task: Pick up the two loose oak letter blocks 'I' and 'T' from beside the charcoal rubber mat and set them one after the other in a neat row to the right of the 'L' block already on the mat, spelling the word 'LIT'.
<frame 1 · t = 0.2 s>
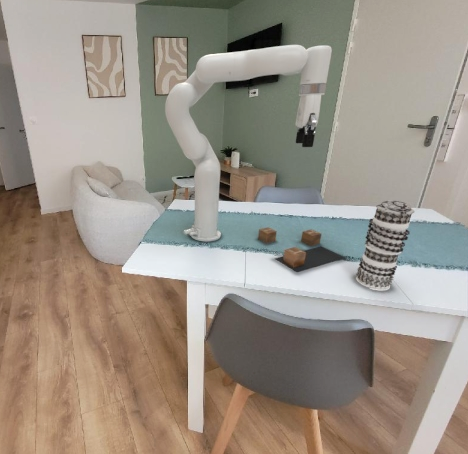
hand: (303, 144, 101), 37 cm above the table, tool pointing down, fingers open, 9 cm apart
decorative candle: (371, 282, 87), on the table
word mat: (309, 259, 101), on the table
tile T: (309, 243, 112), on the table
tile I: (266, 240, 116), on the table
tile L: (293, 263, 98), resting on word mat
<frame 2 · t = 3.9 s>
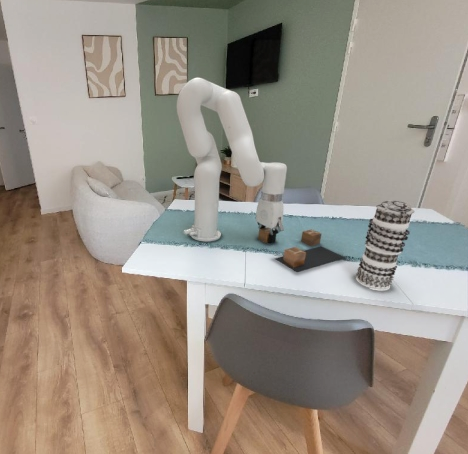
hand: (266, 239, 115), 0 cm above the table, tool pointing down, fingers closed on tile I, 4 cm apart
tile I: (266, 240, 116), on the table, touching gripper
everything else where it was.
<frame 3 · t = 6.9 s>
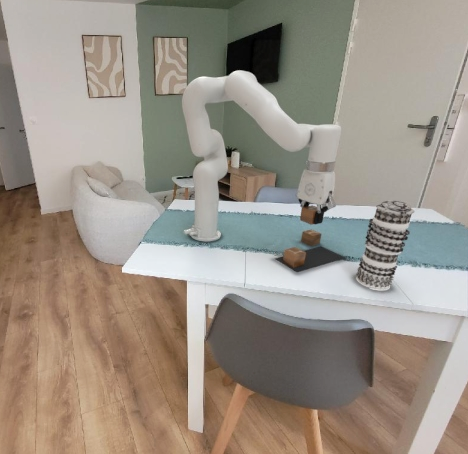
hand: (310, 220, 97), 14 cm above the table, tool pointing down, fingers closed on tile I, 4 cm apart
tile I: (310, 221, 97), point 14 cm above the table, touching gripper
everything else where it was.
when the fingers open (1 cm above the table, at t = 10.3 s): tile I stays where it is, resting on word mat.
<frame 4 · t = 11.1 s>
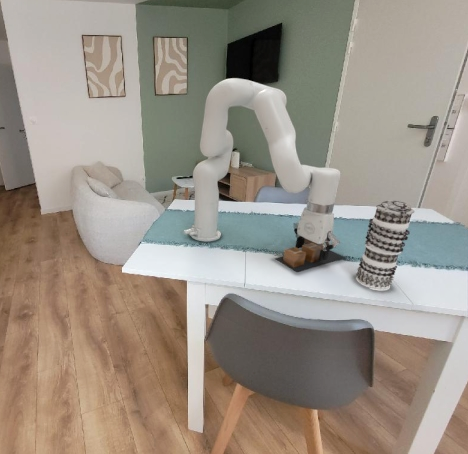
hand: (310, 253, 100), 2 cm above the table, tool pointing down, fingers open, 9 cm apart
tile I: (310, 258, 101), resting on word mat
everything else where it was.
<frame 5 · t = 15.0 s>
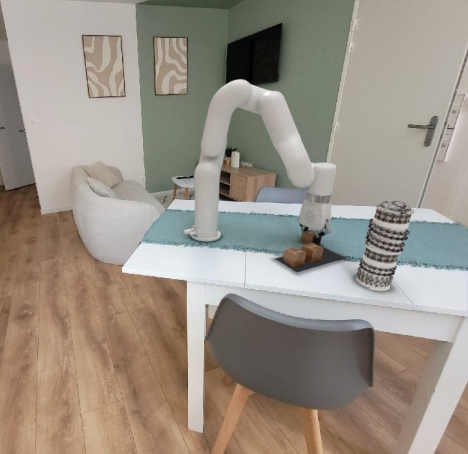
hand: (310, 242, 112), 0 cm above the table, tool pointing down, fingers closed on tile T, 4 cm apart
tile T: (309, 243, 112), on the table, touching gripper
everything else where it was.
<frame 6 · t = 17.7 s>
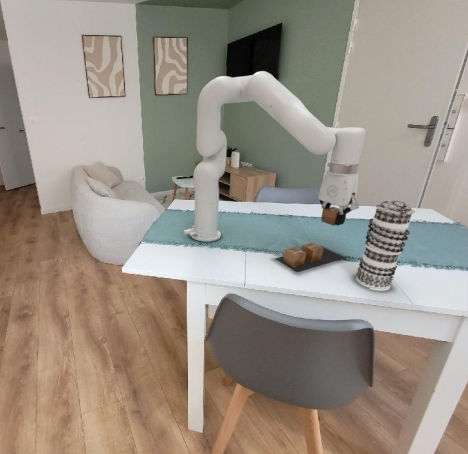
hand: (332, 221, 99), 13 cm above the table, tool pointing down, fingers closed on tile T, 4 cm apart
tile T: (332, 222, 99), point 12 cm above the table, touching gripper
everything else where it was.
when the fingers open (1 cm above the table, at t = 20.7 s): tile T stays where it is, resting on word mat.
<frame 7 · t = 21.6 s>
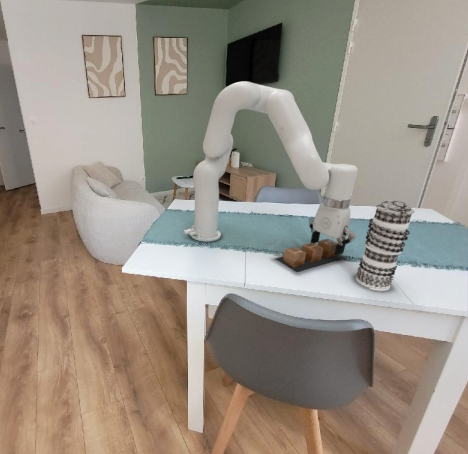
hand: (325, 248, 103), 3 cm above the table, tool pointing down, fingers open, 9 cm apart
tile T: (326, 253, 103), resting on word mat
everything else where it was.
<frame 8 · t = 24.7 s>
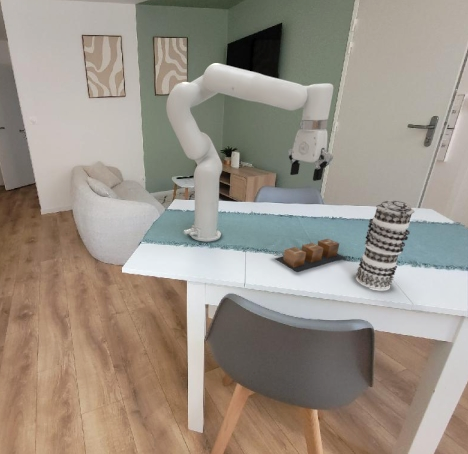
hand: (305, 177, 101), 26 cm above the table, tool pointing down, fingers open, 9 cm apart
nothing on the table moved.
at the end: tile I 0.1 cm off-centre on the word mat, point 0.4 cm above the word mat's base; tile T 0.1 cm from the target spot on the word mat, point 0.4 cm above the word mat's base; tile L moved 0.0 cm from its start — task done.
